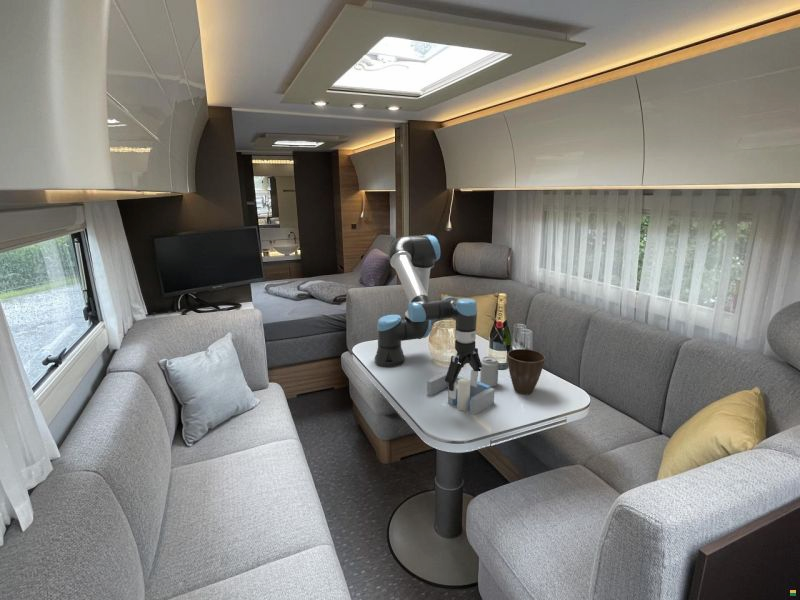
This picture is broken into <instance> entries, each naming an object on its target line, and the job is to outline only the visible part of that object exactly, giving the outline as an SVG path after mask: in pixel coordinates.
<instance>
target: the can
mask: <svg viewBox="0 0 800 600" xmlns="http://www.w3.org/2000/svg"><path fill="white" fill-rule="evenodd" d="M480 361H481V364H482V367H481V368H480V369H481V371H480V375H479V377H480V378H479V379H480V380H479V382H481V383H483V384H486V385H489V386H490V387H491V388H493V387H495V386H496V385H498V382H499V380H498V379H499V361H498V358H497V357H495V356H487V355H486V356H484V357H482V360H480Z"/></svg>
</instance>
